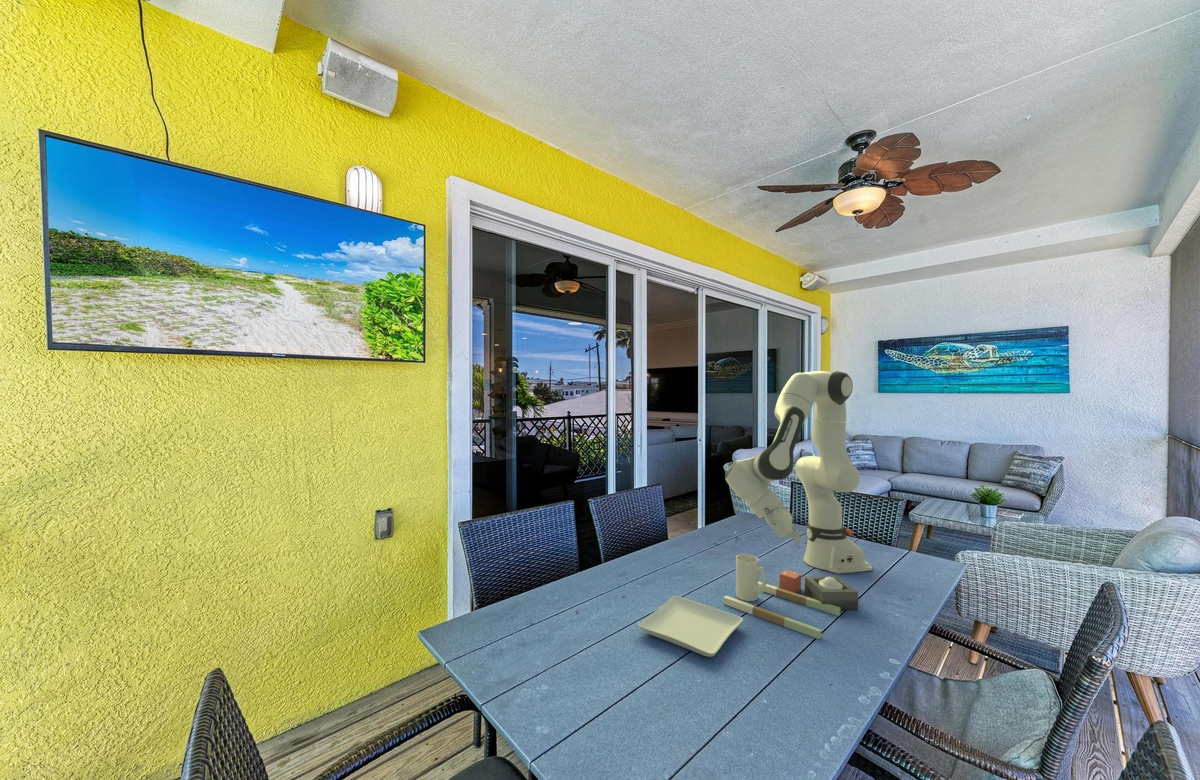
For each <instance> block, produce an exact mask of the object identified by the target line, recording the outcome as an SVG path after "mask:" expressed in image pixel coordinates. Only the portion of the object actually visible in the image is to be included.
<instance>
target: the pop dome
mask: <svg viewBox="0 0 1200 780" xmlns="http://www.w3.org/2000/svg"><path fill="white" fill-rule="evenodd" d="M825 577H826V578H824V579H823V580H820V581H819V585H820V586H821V587H823V588H824V589H842V584H840V583H839V582H837V580H836V579H835V578H833V577H834V576H825Z"/></svg>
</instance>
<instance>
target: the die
mask: <svg viewBox="0 0 1200 780" xmlns="http://www.w3.org/2000/svg"><path fill="white" fill-rule="evenodd" d="M778 576H779V577H778V578H779V581H778V584H779V587H778V588H781V589H784V590H787V591H790V592H793V593H796V594H799V592H800V591H801V590H802V573H799V572H795V571H792V570H789V569H784V570H782V572H780V573H779V574H778Z"/></svg>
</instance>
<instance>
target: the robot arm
mask: <svg viewBox="0 0 1200 780" xmlns="http://www.w3.org/2000/svg"><path fill="white" fill-rule="evenodd" d="M853 385H854V384H853V380H852V378H851V376H850V375H849V374H848V373H846V372H843V371H837V370H836V371H828V370H818V371H806V372H804V371H799V372H796V373H794V374H792V375H791V377H790V378H789V379H788V381H787V382H786V383H785V385H784V386H783V388H782V390H781V391H780V394H779V396H778V398H777V401H776V404H775V407H774V412H773V413H774V416H775V418H776V419H777V421H778V422H779V426H778V429H777V431H776V434H775V436H774V439H773V441H772V443H771V444H770V445H769V446H767V447H766V448H765V449H764V450H763V451H762V452H761V453H758V454H757V455H755V456H752V457H749V458H746V459H745V458H744V459H737V460H735V461H733V463H732V464H731V465H730V466H729V467H728V469H727V470H726V471H725V474H724V480H725V481H726V484H728V485H729V487H730V488H731V489H732V490H733V492H734V493H735V494H736V495H737V496H738V497H739V498H740V499H742V500H743V501H744V502H745V503H746V505H747V506H748V508H749V509H750V510H751V511H752V512H753V513H754V514H755V515H756V516H757V517H758V519H763V518H765V521H766V523H767V524H768V526H769V527H770V528H771V530H772V531H774V533H775V534H776V535H777V536H778V537H779V539H782V540H786V539H787V538H788V537H791V538H792V539H793V540H794V541H795V542H796V543H799V542H800V541H802V535H801V534H800V533H799V532H798V530H797V529H796V528H795V527H794V525H793V516H792V514H791V512H790V511H789V510H788V509H787V508H786V507H785V505H784V504H783V503H782V501H781V498H779V496H778V495H777V494H776V493H775V492H773V491H772V489H770V487H769V484H771V483H774V482H777V481H779V480H780V481H781V480H783V479H786V478H788V477H789V476H790V475H791V473H793V469H794V473H795V475H796V477H797V478H798V479H799V480H800V482H801V483H802V486H803V488H804V491H805V494H806V499H807V503H808V522H807V527H806V528H807V529H806V536H807V542H806V543H807V544H806V549H805V554H804V556H803V562H804V563H805V564H807V565H809V566H810V567H813V568H816V569H820V570H824V571H827V572H831V573H834V574H839V575H840V574H848V573H849V574H850V573H859V572H869V571H873V567H872V565H871V564H870V563H869V562H868V561H867V560H866V559H865V554H864V551H863V550H862V548H861V547H860V546H858V544H856V543H855V542H853V541H852V539H849V537H850V536H852V535H853V530H851V529H849V528H845V527H844V526H843V506H842V505H841V502H839V500H838V499H837V498H836V496H835V494H834V492H838V493H851V492H854V491H855V490H856V489H857V488H858V487H859V484H860V481H861V477H860V472H859V470H858V469H857V468H856V466H855V465H854V464H853V463H852V461H851V458H850V457H849V454H848V450H847V446H846V435H847V434H846V432H847V431H846V429H847V428H846V427H847V406H846V401H848V399H849V398H850V397H851V395H852V393H853ZM814 403H815V404H814ZM813 405H814V409H813V416H812V424H811V426H812V428H811V429H812V430H811V442H812V443H813V445H815V447H816V448H817V449H818V452H819V453H818V454H819V456H817V455H807V456H806V455H805V456H801V457H800V458H799V459H798V460H797V461H796V463H795V464H794V450H795V447H796V444H797V442H798V438H799V436H800V433H801V430H802V427H803V425H804V423H805V422H806V420H807V419H808V417H809V415H810V413H811V410H812V408H813ZM847 536H849V537H847Z"/></svg>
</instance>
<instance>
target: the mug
mask: <svg viewBox="0 0 1200 780" xmlns="http://www.w3.org/2000/svg"><path fill="white" fill-rule="evenodd" d="M759 560H760V559H759V557H757V556H754V555H752V554H746V553H745V554H744V553H740V554H738V555H735V578H736V579H735V585H736V586H735V587H736V588H735V591H736V593H735V594H736V597H737V598H738V600H740V601H743V602H755V601H757V600H758V598H759V597H758V595H762V594H763V593H764V589H765V587H766V584H767V575H766V573H765V570H764V569H765V568H764V567H762V566H760V565H759V562H760V561H759ZM759 574H760V576H761V578H762V581H761V582H762V586H761V588H758V582H759Z"/></svg>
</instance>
